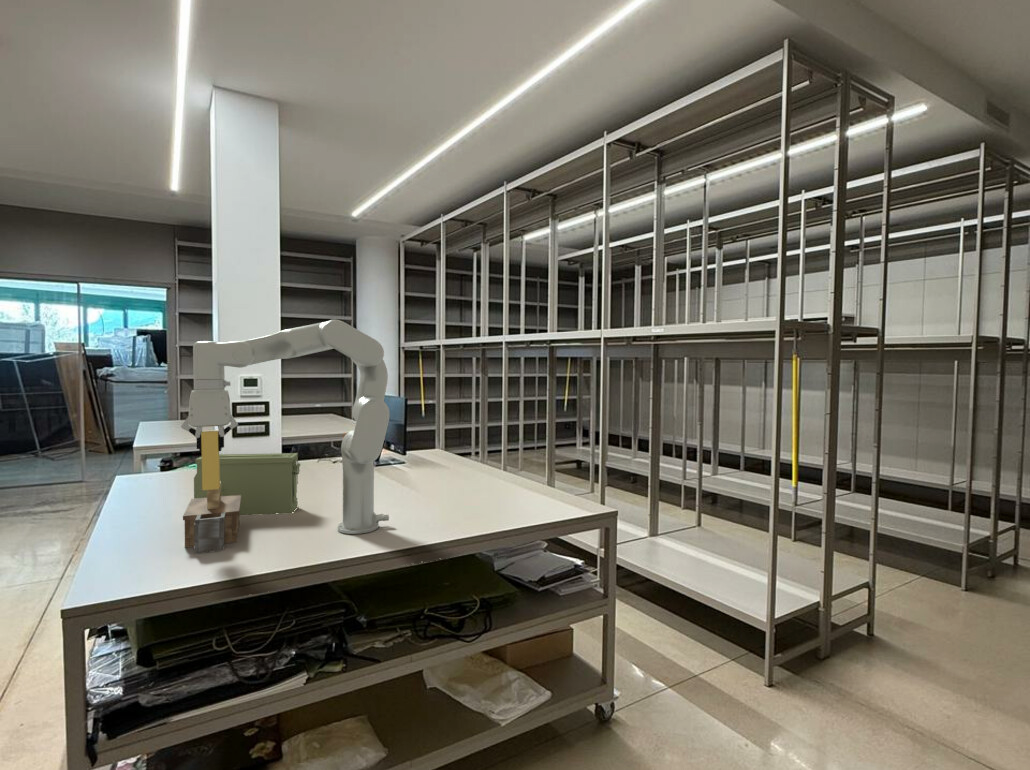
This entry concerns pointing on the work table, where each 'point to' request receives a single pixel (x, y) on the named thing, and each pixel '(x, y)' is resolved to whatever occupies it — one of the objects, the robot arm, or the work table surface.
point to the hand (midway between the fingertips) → (210, 450)
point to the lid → (212, 507)
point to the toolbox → (211, 534)
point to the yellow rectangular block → (210, 460)
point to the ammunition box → (257, 481)
